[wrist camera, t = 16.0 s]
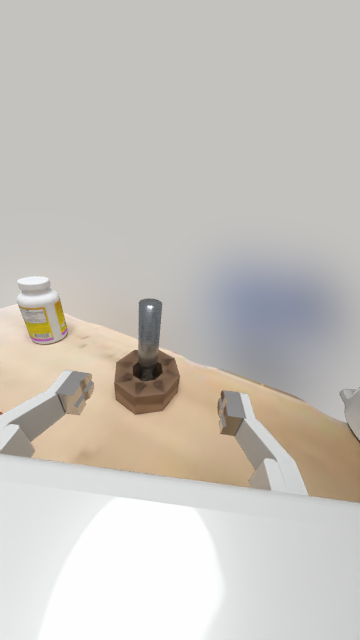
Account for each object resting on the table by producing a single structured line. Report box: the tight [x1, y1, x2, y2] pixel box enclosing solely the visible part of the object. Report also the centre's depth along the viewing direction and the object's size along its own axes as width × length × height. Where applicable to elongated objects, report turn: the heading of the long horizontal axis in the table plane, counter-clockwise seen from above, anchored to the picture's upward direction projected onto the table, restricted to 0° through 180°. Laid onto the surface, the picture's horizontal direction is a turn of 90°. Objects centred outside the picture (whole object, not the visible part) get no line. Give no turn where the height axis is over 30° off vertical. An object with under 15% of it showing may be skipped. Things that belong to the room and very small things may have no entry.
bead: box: [114, 350, 180, 414], centre depth 30 cm, size 10×10×4 cm
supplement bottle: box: [17, 276, 67, 344], centre depth 36 cm, size 7×7×13 cm
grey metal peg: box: [138, 299, 162, 381], centre depth 27 cm, size 3×3×16 cm
